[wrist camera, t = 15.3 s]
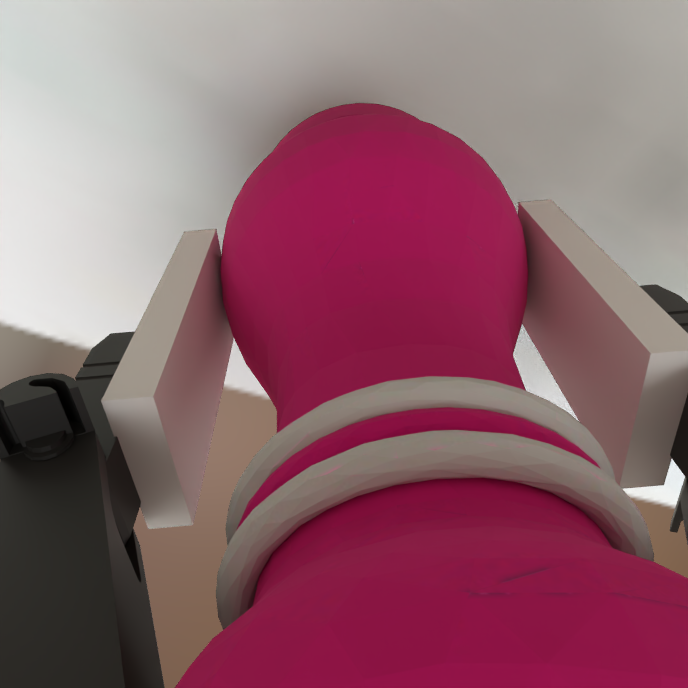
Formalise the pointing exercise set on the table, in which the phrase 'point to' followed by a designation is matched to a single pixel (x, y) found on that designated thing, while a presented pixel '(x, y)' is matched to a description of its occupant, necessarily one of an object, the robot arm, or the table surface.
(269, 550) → the pepper mill
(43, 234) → the table surface
